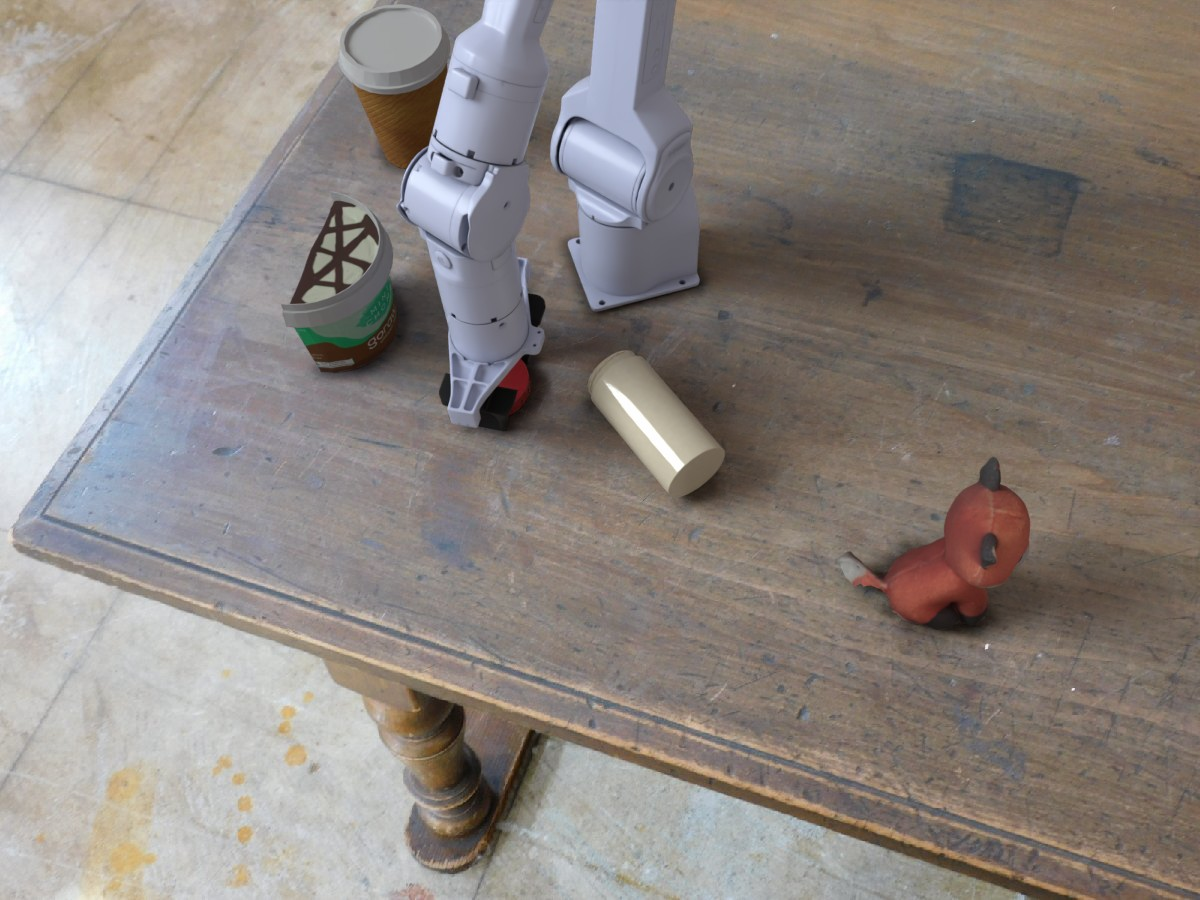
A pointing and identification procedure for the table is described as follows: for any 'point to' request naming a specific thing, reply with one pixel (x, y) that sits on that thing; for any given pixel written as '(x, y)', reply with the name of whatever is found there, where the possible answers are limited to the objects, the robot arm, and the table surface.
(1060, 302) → the table surface
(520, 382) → the lid
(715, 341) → the table surface
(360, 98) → the disposable coffee cup
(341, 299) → the food container
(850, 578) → the stuffed fox
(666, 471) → the jar
